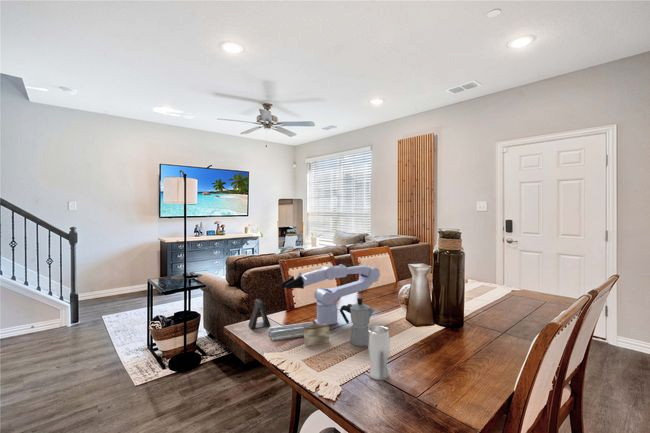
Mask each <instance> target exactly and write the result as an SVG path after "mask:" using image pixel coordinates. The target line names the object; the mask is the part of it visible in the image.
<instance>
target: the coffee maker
mask: <svg viewBox="0 0 650 433" xmlns="http://www.w3.org/2000/svg"><path fill="white" fill-rule="evenodd" d="M356 299H357V303H355V304H351V303H348V304H347V305H346V304H345V305H342V306H341V307H340V309H339V313H340V315H341V316H342V317H343V319H344V321H345V323H346V325H348V324H349V323H350V320H349V318H348V317H347V315H346V313H345V312H347V313H349V314H350V319H351V322H352V323H351V324H352V326H351V330H350V338H349V344H351V345H352V346H354V347H359V348H365V347H368V328H369V327H370V326H369V324H370V319H371V318H372V315H373V313H374V312H375V311H376V309H375V308H372V307H370V305H368V304H363V298H362V297H358V298H356ZM344 311H345V312H344Z"/></svg>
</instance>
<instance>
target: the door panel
mask: <svg viewBox="0 0 650 433" xmlns="http://www.w3.org/2000/svg"><path fill="white" fill-rule="evenodd" d="M327 343H330V325H328V324H327V323H326V324H319V325H318V324H314V325H312V326H305V327H304V336H303V344H304V346H305V347H308V346H315V345H321V344H327Z"/></svg>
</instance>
